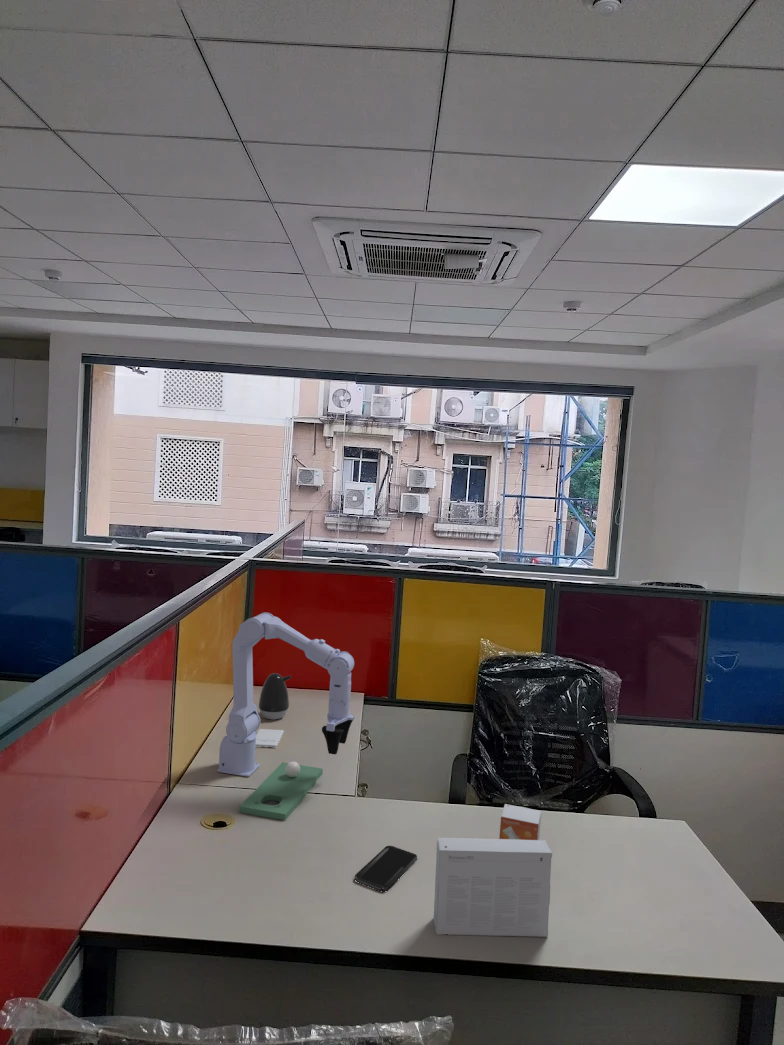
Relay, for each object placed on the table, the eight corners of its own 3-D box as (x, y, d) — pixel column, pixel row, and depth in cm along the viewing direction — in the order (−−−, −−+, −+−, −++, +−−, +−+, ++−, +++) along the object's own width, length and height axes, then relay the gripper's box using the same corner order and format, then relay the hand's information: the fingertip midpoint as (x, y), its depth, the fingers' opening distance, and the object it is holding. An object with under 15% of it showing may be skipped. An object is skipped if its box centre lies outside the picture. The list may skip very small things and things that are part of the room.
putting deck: (239, 812, 163) (239, 806, 163) (282, 767, 189) (282, 762, 189) (285, 820, 160) (285, 814, 160) (322, 773, 186) (322, 768, 186)
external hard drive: (283, 734, 215) (276, 750, 202) (258, 733, 215) (249, 748, 202) (284, 730, 214) (276, 745, 202) (258, 728, 215) (249, 743, 202)
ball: (282, 778, 179) (283, 764, 179) (288, 772, 183) (288, 758, 183) (296, 780, 178) (297, 766, 178) (302, 774, 182) (302, 760, 182)
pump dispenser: (290, 722, 224) (291, 677, 223) (258, 722, 222) (260, 678, 221) (288, 711, 234) (290, 669, 233) (257, 712, 232) (259, 669, 231)
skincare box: (541, 918, 129) (546, 839, 128) (548, 938, 123) (554, 855, 122) (432, 915, 128) (436, 835, 127) (434, 935, 122) (439, 851, 121)
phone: (352, 877, 138) (388, 844, 151) (352, 882, 138) (387, 849, 151) (385, 890, 134) (419, 855, 147) (385, 895, 134) (419, 860, 147)
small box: (496, 875, 142) (500, 816, 141) (500, 859, 148) (504, 802, 147) (534, 884, 140) (539, 823, 139) (537, 867, 146) (541, 809, 145)
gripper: (345, 709, 171) (343, 760, 172) (361, 692, 185) (358, 740, 186) (319, 705, 173) (317, 756, 174) (337, 689, 187) (334, 736, 188)
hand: (337, 748), depth 180 cm, fingers open, 7 cm apart
